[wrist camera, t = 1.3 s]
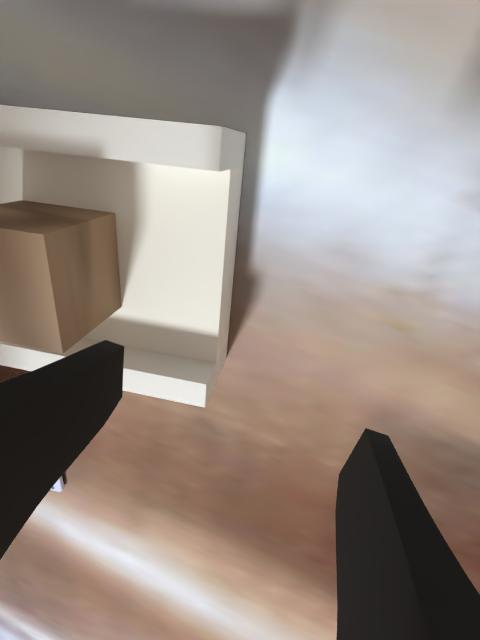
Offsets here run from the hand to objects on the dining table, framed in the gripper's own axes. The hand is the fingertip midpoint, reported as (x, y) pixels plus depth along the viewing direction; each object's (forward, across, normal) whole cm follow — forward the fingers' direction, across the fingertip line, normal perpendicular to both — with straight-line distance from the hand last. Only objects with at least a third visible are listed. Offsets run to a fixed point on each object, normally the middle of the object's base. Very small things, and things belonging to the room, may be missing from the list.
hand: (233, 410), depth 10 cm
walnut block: (+8, +11, +1) cm, 13 cm away
